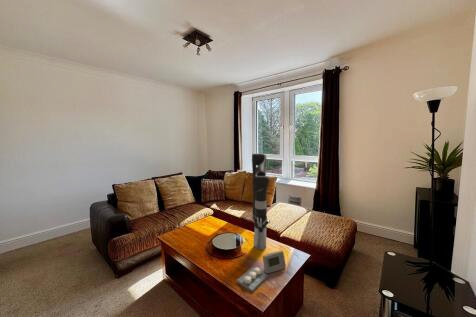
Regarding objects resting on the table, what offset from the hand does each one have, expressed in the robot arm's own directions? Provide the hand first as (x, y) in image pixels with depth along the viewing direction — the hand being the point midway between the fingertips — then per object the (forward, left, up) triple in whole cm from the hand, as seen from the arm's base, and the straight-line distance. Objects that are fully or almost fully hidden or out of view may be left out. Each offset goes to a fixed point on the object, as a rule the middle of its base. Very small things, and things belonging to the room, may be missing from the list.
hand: (261, 231), depth 129 cm
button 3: (+1, -6, -26) cm, 27 cm away
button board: (+1, -11, -27) cm, 29 cm away
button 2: (+1, -11, -27) cm, 29 cm away
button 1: (+1, -16, -27) cm, 31 cm away
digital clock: (+6, +6, -27) cm, 29 cm away
